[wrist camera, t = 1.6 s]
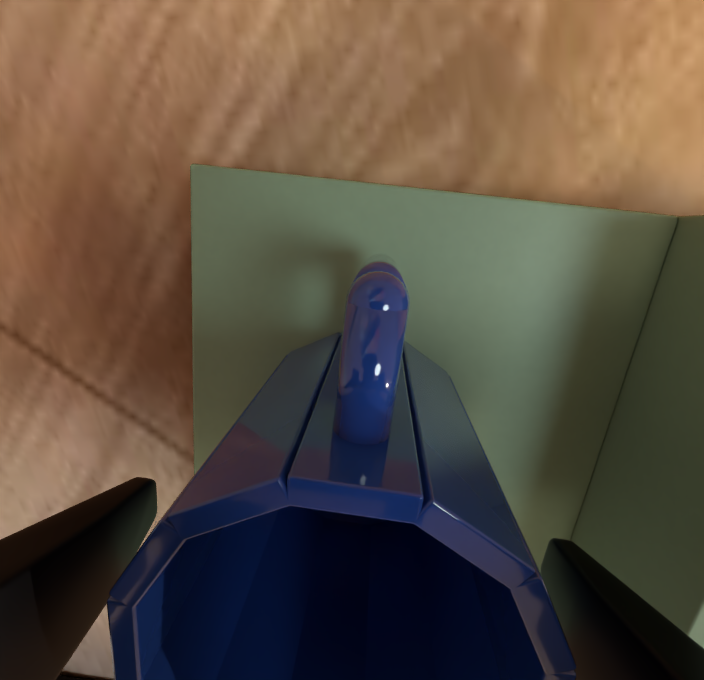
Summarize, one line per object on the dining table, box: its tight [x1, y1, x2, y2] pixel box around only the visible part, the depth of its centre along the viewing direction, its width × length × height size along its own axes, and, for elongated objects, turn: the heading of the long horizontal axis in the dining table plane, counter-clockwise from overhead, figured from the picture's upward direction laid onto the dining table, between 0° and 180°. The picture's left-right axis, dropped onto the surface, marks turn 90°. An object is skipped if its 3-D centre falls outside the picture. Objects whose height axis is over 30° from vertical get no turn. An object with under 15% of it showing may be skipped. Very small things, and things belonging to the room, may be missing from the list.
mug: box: [107, 254, 576, 680], centre depth 9 cm, size 7×9×7 cm
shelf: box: [190, 164, 704, 648], centre depth 12 cm, size 17×15×8 cm
